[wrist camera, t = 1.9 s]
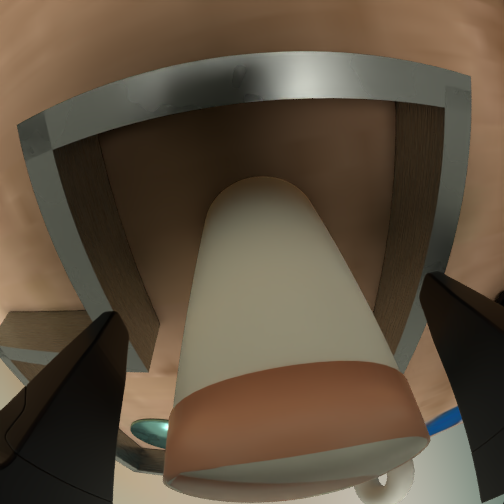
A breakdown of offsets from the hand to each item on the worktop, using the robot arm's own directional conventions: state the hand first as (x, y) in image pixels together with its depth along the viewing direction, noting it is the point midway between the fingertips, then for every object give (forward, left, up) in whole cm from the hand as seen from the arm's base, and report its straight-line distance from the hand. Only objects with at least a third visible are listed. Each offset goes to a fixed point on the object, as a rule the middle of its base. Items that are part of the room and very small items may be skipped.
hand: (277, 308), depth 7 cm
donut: (-12, +32, -5) cm, 34 cm away
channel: (+5, +10, -4) cm, 12 cm away
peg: (0, 0, -4) cm, 4 cm away
